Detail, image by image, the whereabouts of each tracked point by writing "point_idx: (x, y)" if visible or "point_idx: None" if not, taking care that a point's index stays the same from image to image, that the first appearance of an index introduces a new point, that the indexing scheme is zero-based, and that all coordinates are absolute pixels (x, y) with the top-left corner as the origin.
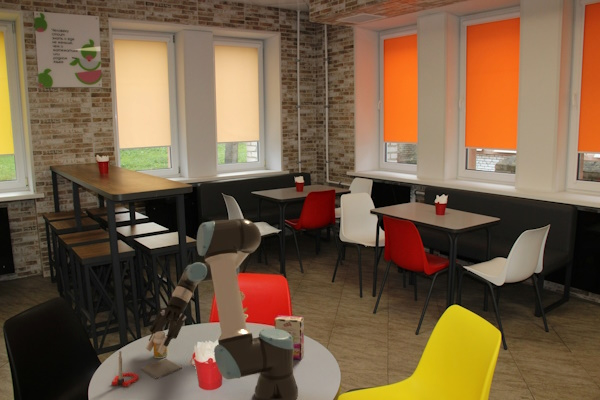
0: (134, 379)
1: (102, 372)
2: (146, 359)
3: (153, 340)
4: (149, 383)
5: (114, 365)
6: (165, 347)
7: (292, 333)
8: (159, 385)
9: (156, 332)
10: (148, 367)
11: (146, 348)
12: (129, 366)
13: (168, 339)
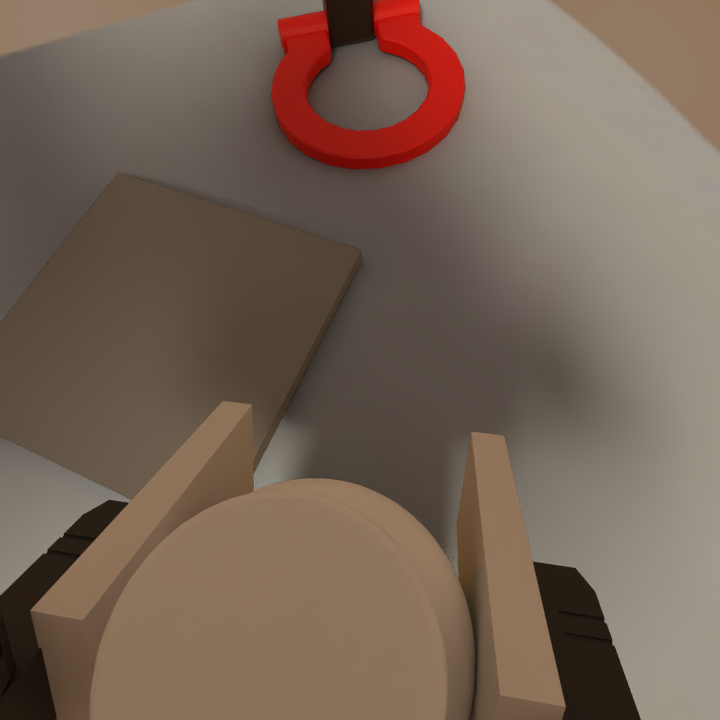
0: (281, 82)
1: (653, 108)
2: (462, 462)
3: (416, 520)
4: (155, 118)
5: (677, 228)
6: None
7: None
8: (64, 123)
9: (418, 686)
10: (292, 278)
11: (488, 434)
12: (518, 264)
13: (4, 600)
